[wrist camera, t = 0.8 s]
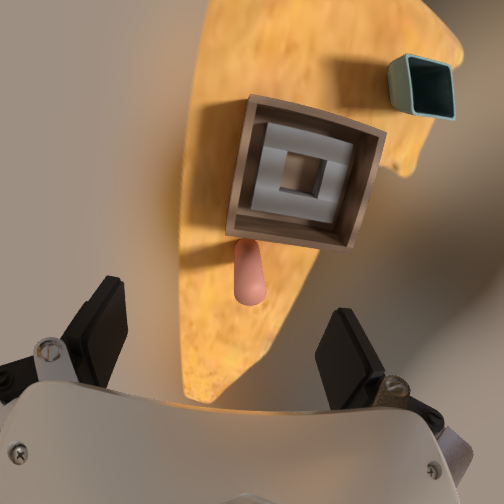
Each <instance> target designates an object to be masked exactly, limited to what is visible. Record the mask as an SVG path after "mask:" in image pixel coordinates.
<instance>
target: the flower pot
mask: <svg viewBox="0 0 504 504" xmlns="http://www.w3.org/2000/svg"><path fill="white" fill-rule="evenodd" d="M387 77H388V85H389V95H390V102H391V104H392V106H393V107H394V108H395V109H396V110H398V111H400V112H404V113H407V114H411V115H415V116H423V117H432V118H439V119H446V120H451V121H455V118H456V110H455V99H454V87H453V77H452V70H451V67H450V65H449V64H447V63H443V62H439V61H435V60H431V59H428V58H424V57H420V56H416V55H412V54H405V55H403V56H401V57H399V58H397V59H395V60H394V61H392V62H391V63H390V65H389V66H388V70H387Z"/></svg>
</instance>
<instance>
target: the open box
mask: <svg viewBox="0 0 504 504" xmlns="http://www.w3.org/2000/svg"><path fill="white" fill-rule="evenodd" d="M386 134H387V132H384V131H382V130H379V129H377V128H374V127H371V126H368V125H366V124H363V123H360V122H357V121H354V120H351V119H348V118H345V117H342V116H339V115H336V114H333V113H329V112H326V111H322V110H319V109H315V108H312V107H308V106H304V105H300V104H296V103H292V102H288V101H283V100H279V99H274V98H269V97H264V96H259V95H253V94H250V96H249V97H248V100H247V105H246V110H245V116H244V121H243V126H242V131H241V137H240V142H239V147H238V153H237V158H236V164H235V170H234V175H233V181H232V187H231V193H230V199H229V205H228V211H227V218H226V229H225V235H227V236H234V237H241V238H248V239H255V240H262V241H268V242H275V243H282V244H289V245H295V246H302V247H308V248H315V249H321V250H328V251H334V252H340V253H347V254H351V251H352V249H353V246H354V243H355V240H356V238H357V235H358V232H359V229H360V226H361V223H362V220H363V217H364V214H365V211H366V207H367V204H368V201H369V198H370V194H371V191H372V187H373V184H374V181H375V177H376V174H377V170H378V166H379V163H380V159H381V155H382V151H383V147H384V143H385V139H386Z"/></svg>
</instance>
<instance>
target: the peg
mask: <svg viewBox="0 0 504 504" xmlns="http://www.w3.org/2000/svg"><path fill="white" fill-rule="evenodd" d="M266 293H267V291H266V285H265V279H264V273H263V267H262V262H261V256H260V250H259V245H258V243H257V242H256V241H255V240H254V239H248V238H242V239H240V240H239V241H238V242H237V243H236V244H235V247H234V296H235V298H236V300H237V301H238V302H239V303H241V304H243V305H247V306H253V305H257V304H259V303H261V302H262V301H263V300H264V299H265V297H266Z"/></svg>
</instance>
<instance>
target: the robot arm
mask: <svg viewBox="0 0 504 504" xmlns="http://www.w3.org/2000/svg"><path fill="white" fill-rule="evenodd" d="M127 334H128V325H127V315H126V304H125V290H124V283H123V282H122V281H121V280H120V278H118V277H114V276H106V277H105V279H104V280H103V282H102V283H101V284H100V286H99V287H98V288H97V290H96V291H95V293H94V294H93V295H92V297H91V298H90V299H89V301H86V302H85V303H84V304H83V306H82V307H81V309H80V310H79V311H78V313H77V314H76V316H75V317H74V319H73V320H72V321H71V323H70V325H69V326H68V327H67V329H66V330H65V332H64V334H63V335H62V337H61V338H60V339H58V338H54V337H49V338H45V339H42V340H41V341H39V342H38V343H37V344H36V345H35V347H34V350H33V356H30V357H27V358H24V359H21V360H17V361H14V362H11V363H8V364H5V365H1V366H0V504H460V500H459V497H458V493H457V490H456V488H457V486H458V484H459V483H460V481H461V479H462V477H463V476H464V474H465V472H466V470H467V468H468V467H469V465H470V463H471V461H472V459H473V450H472V447H471V446H470V445H469V444H468V443H467V442H466V441H464V440H463V439H462V438H461V437H460V436H459V435H458V434H457V433H455V432H454V431H453V430H452V429H451V428H450V427H449V426H447V427H446V428H445V427H444V418H443V416H442V415H441V414H440V413H439V412H438V411H437V410H435V409H433V408H432V407H430V406H428V405H426V404H424V403H422V402H420V401H418V400H417V399H415V398H413V397H411V396H410V392H411V389H410V386H409V384H408V383H407V382H406V381H405V380H404V379H403V378H401V377H400V376H397V375H387V376H385V374H384V372H385V369H384V367H383V365H382V363H381V361H380V360H379V358H378V356H377V354H376V352H375V350H374V348H373V347H372V345H371V344H370V341H369V340H368V337H367V336H366V334H365V332H364V330H363V328H362V327H361V325H360V323H359V322H358V320H357V318H356V316H355V314H354V313H353V311H352V309H350V308H338V309H337V310H335V311H334V312H333V314H332V316H331V319H330V321H329V323H328V326H327V328H326V330H325V333H324V335H323V337H322V339H321V341H320V343H319V346H318V348H317V350H316V352H315V360H316V363H317V366H318V370H319V372H320V376H321V379H322V383H323V386H324V389H325V392H326V396H327V399H328V402H329V406H330V409H331V410H328V411H308V412H307V411H306V412H265V411H263V412H262V411H243V410H229V409H217V408H208V407H200V406H192V405H185V404H178V403H172V402H166V401H160V400H155V399H149V398H145V397H140V396H135V395H130V394H126V393H122V392H118V391H114V390H110V389H106V387H107V385H108V382H109V379H110V377H111V374H112V371H113V369H114V366H115V364H116V361H117V359H118V356H119V354H120V352H121V349H122V347H123V344H124V342H125V340H126V337H127Z"/></svg>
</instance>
